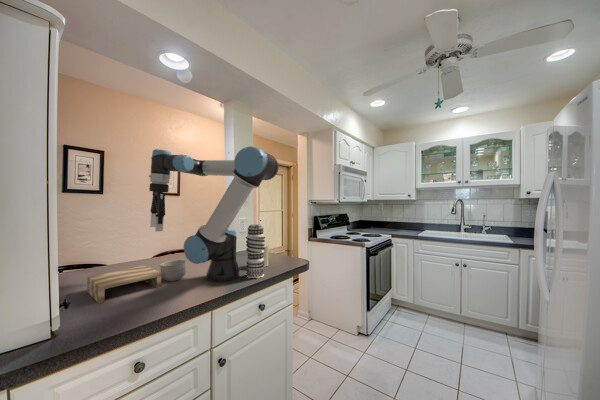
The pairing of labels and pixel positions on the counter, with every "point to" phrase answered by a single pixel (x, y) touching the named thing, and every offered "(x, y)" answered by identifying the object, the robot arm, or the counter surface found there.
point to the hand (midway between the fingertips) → (156, 229)
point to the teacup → (173, 270)
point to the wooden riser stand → (121, 280)
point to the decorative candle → (255, 251)
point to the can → (265, 255)
